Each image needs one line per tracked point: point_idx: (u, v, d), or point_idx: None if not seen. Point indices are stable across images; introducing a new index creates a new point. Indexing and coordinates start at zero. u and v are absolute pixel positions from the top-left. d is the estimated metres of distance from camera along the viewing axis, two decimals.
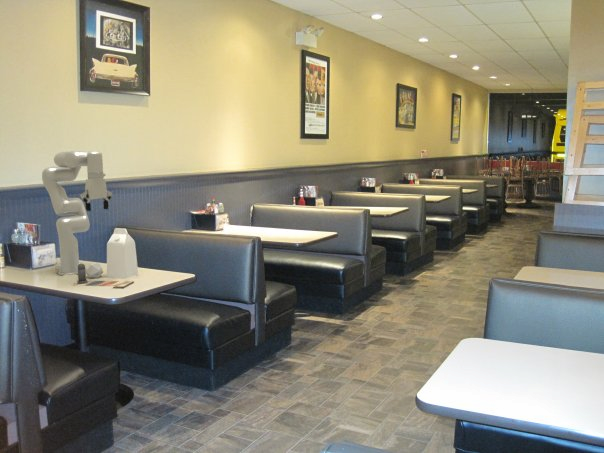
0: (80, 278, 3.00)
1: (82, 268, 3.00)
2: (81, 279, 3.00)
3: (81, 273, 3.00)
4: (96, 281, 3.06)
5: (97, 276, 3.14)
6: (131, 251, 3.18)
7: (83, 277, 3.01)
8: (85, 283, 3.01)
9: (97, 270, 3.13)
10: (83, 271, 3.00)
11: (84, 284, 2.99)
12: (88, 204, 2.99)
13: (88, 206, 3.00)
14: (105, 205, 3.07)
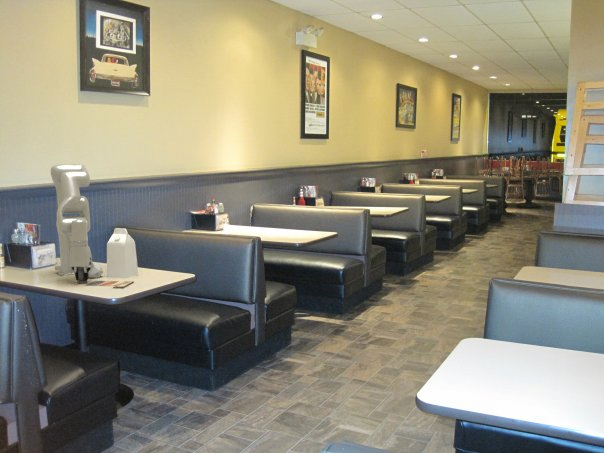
0: (80, 278, 3.00)
1: (82, 268, 3.00)
2: (81, 279, 3.00)
3: (81, 273, 3.00)
4: (96, 281, 3.06)
5: (97, 276, 3.14)
6: (131, 251, 3.18)
7: (83, 277, 3.01)
8: (85, 283, 3.01)
9: (97, 270, 3.13)
10: (83, 271, 3.00)
11: (84, 284, 2.99)
12: None
13: None
14: None
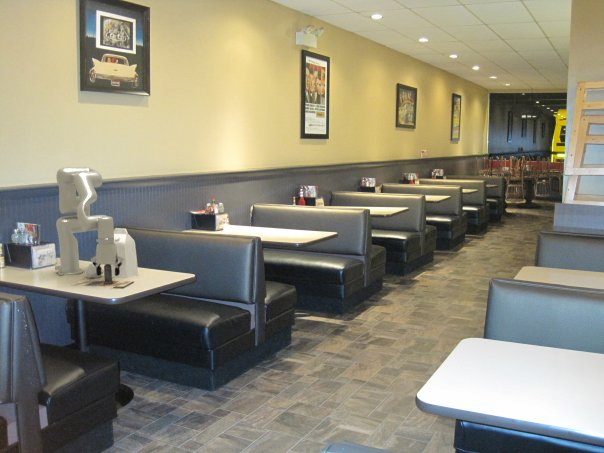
0: (106, 279, 2.98)
1: (108, 268, 2.98)
2: (107, 280, 2.99)
3: (107, 273, 2.98)
4: (96, 281, 3.06)
5: (97, 276, 3.14)
6: (131, 251, 3.18)
7: (109, 277, 2.99)
8: None
9: None
10: (109, 271, 2.99)
11: (84, 284, 2.99)
12: None
13: None
14: (100, 271, 3.01)
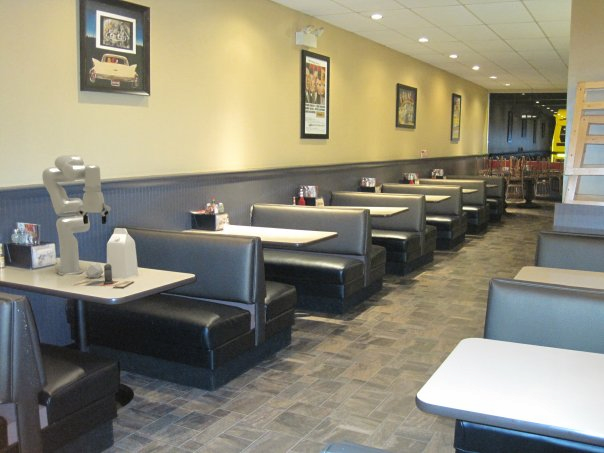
0: (106, 278, 2.98)
1: (109, 268, 2.98)
2: (107, 279, 2.99)
3: (108, 273, 2.98)
4: (96, 281, 3.06)
5: (97, 276, 3.14)
6: (131, 251, 3.18)
7: (109, 277, 2.99)
8: None
9: (97, 270, 3.13)
10: (110, 271, 2.99)
11: (84, 284, 2.99)
12: None
13: None
14: (86, 219, 3.04)
